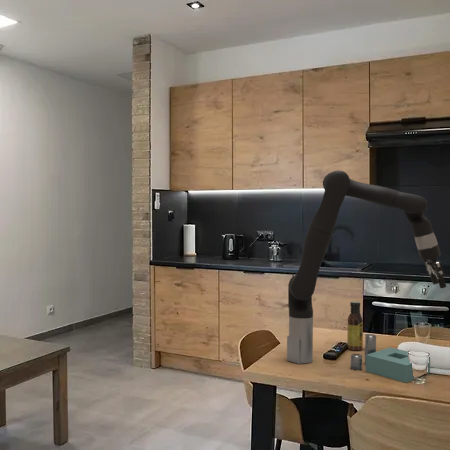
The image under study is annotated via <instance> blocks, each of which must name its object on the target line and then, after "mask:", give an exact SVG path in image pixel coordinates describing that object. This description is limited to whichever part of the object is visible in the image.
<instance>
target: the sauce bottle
mask: <svg viewBox="0 0 450 450" xmlns="http://www.w3.org/2000/svg"><path fill="white" fill-rule="evenodd" d="M349 306H350V313H349V315H348V317H347V349H348V350H350V351H355V352H356V351H363V346H364V344H363V341H364V339H363V338H364V334H363V333H364V320H363V317H362V314H361V309H360V308H361V302H360V301H353V300H352V301H350V305H349Z"/></svg>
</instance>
